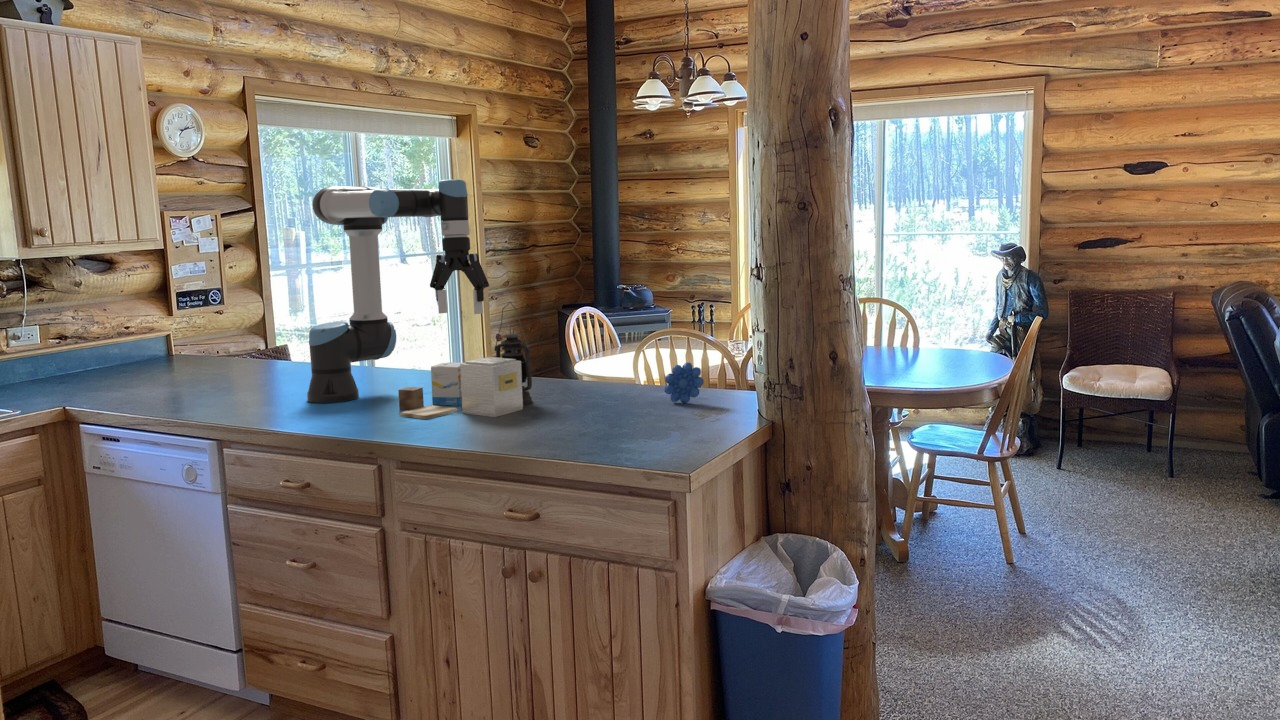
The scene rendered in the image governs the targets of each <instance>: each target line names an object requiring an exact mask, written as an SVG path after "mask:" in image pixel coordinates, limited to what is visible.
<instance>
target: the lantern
mask: <svg viewBox="0 0 1280 720" xmlns="http://www.w3.org/2000/svg"><path fill="white" fill-rule="evenodd" d="M509 305H511V306H512V308H514V309H515V310H516V314H517V318H518V322H519V326H520V329H521V332H522V334H523V337H524V340H520V339H518V338H521V337H522V335H521V334H518V333H515V329H514V327H515V326H514V325H510V326H509V333H507V334H505V335H502V338H506V340H502V341H500V343H499V344H498V341H499V336H500V331H501V329H502V326H503V318H504V317H503V315H504V309H505V308H506V307H508V306H509ZM518 312H519V311H518V309H517V307H516V306H515V305H513V303H512V301H509V302H508V303H507V304H506V305H504V307H502V309H501V320H500V327H499V330H498V333H497V338H496V341H495V346H494V351H495V357H497V358H509V359H516V361H521V372H522V397H523V406H527V405H530V404H532V403H533V398H532V396H531V394H530V391H529V390H531V389H532V386H533V380H532V379H533V378H532V377H533V376H532V367H531V356H530V353H531V352H532V348H531V347H530V346H529V345H528V342H527V339H526V336H525V332H524V330H523V328H522V324H521V320H520V316H519V313H518ZM511 327H512V328H511ZM511 330H512V331H511ZM524 342H525V344H524ZM501 350H503V353H502V354H501ZM522 350H524V351H525V356H524V353H523V352H522ZM501 355H502V356H501ZM524 383H526V384H527V385H526V387H525V386H524V385H523V384H524Z"/></svg>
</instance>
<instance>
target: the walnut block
mask: <svg viewBox="0 0 1280 720" xmlns="http://www.w3.org/2000/svg"><path fill="white" fill-rule="evenodd" d="M397 391H398V406H399V407H398V409H399V411H404V412H405V411H409V410H413V409H417V408H421V407H425V403H424V402H425V401H424V387H420V386H419V387H417V386H405V387H404V388H401V389H398V390H397Z"/></svg>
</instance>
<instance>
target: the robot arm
mask: <svg viewBox="0 0 1280 720" xmlns="http://www.w3.org/2000/svg"><path fill="white" fill-rule="evenodd" d="M468 203H469V202H468V191H467V183H466V181H465V180H463V179H442V180H439V181H438V188H432V189H431V188H430V189H428V188H427V189H425V188H424V189H421V188H418V189H416V188H414V189H411V188H409V189H408V188H407V189H404V188H403V189H401V188H399V189H398V188H380V189H379V188H377V187H373V186H364V185H362V186H339V185H338V186H335V185H334V186H333V185H332V186H327V187H324V188H322V189H320V190H319V191H317V192H316V194H315V195H314V197H313V200H312V204H311V205H312V211H313V213H314V214H315V216H316V217H317V218H318V220H320V221H322V222H324V223H325V224H328V225H333V226H334V225H335V226H343V227H342V228H343V232H344V233H345V234H346V235H347V236H348V238H349V242H348V243H349V253H350V254H349V256H350V270H351V271H350V272H351V286H352V289H351V290H352V302H353V314H352V315H351V316H350V317H349V323H348V322H347V321H344V320H342V321H332V322H331V321H330V322H325V323H321V324H317V325H314V326H313V327H311V328H310V329H309V332H308V333H309V335H308V345H309V357H310V368H311V369H310V370H311V376H310V377H311V378H310V381H309V385H308V391H307V393H306V394H307V396H306V399H307V401H308V402H309V403H312V404H313V403H315V404H333V403H342V402H348V401H353V400H355V399H356V400H357V399H358V398H359V397H360V395H359V393H360V392H359V389H358V387H357V384H356V381H355V379H354V377H353V373H352V367H351V366H352V363H358V362H365V361H366V362H367V361H372V360H373V361H374V360H375V361H376V360H380V359H385V358H387V357H389V356H391V354H392V353H393V352H394V350H395V348H396V345H397V331H396V329H395V326H394V324H393V323H392V322H390V321H388V316H387V314H385V313H384V312H383V304H382V302H383V301H382V286H381V285H382V284H381V271H380V270H381V268H380V267H381V266H380V254H379V252H380V251H379V237H378V236H379V234H380V233H382V232H383V225H384V224H386V223H387V222H388V220H389V218H401V217H403V218H405V217H407V218H413V217H417V218H419V217H421V218H422V217H423V218H433V217H440V225H441V226H440V227H441V235H442V236H443V238H442V239H441V241H442V242H441V243H442V251H443V252H445V253H444V254H437V255H436V256H435V264H434V265H435V266H434V269H433V272H432V277H431V278H430V279H431V280H430V283H429V287H430V288H431V289H434V290H435V296H436V302H437V305H438V306H437V309H438V314H447V313H448V301H447V298H448V297H447V289H446V288H445V287H446V285H447V283H448V281H449V280H450V277H451V276H452V274H453V273H454V272H455V271H461V272H463V273H464V275H465V276H466V278H467V279H468V280H469V282H470V284H471V285H472V286H473V289H472V298H473V312H474V313H473V314H474V315H479V314H484V306H483V305H484V304H483V302H484V301H485V297H484V291H485V290H484V289H485V288H489V287H490V283H489V280H488V278H487V276H486V274H485V272H484V269H483V267H482V265H481V263H480V258H479V254H478V253H469V252H470V250H471V239H470V237H469V235H470V222H469V204H468Z"/></svg>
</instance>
